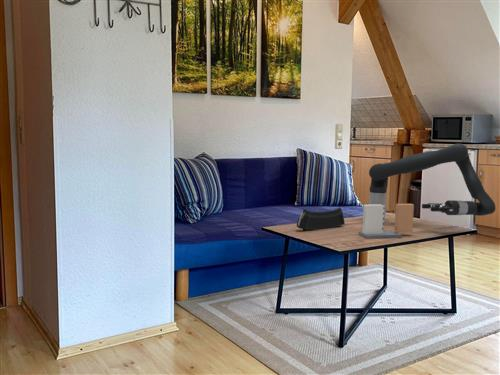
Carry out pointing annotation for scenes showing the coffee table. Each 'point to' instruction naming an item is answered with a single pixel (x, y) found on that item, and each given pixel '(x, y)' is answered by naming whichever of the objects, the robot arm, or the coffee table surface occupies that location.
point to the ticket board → (375, 223)
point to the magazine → (320, 219)
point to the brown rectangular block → (404, 218)
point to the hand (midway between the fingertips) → (426, 207)
